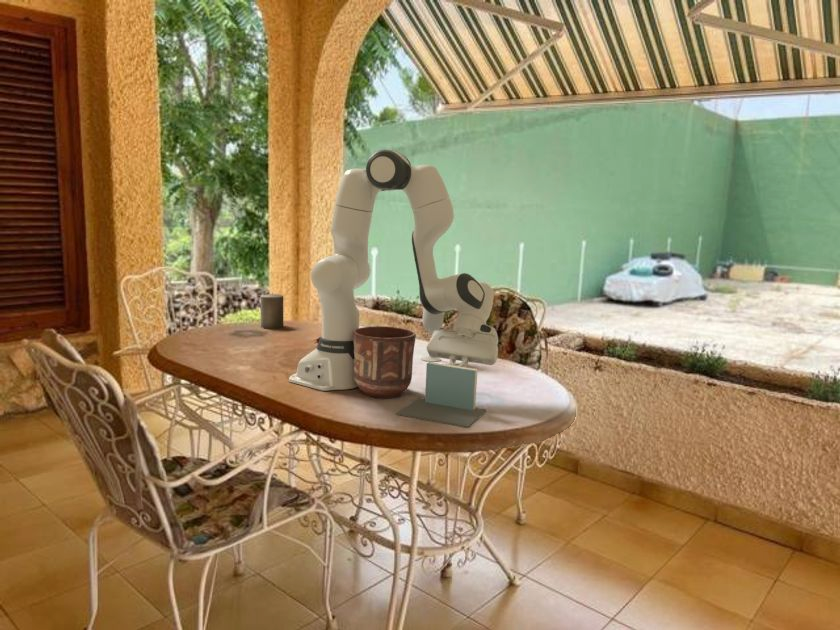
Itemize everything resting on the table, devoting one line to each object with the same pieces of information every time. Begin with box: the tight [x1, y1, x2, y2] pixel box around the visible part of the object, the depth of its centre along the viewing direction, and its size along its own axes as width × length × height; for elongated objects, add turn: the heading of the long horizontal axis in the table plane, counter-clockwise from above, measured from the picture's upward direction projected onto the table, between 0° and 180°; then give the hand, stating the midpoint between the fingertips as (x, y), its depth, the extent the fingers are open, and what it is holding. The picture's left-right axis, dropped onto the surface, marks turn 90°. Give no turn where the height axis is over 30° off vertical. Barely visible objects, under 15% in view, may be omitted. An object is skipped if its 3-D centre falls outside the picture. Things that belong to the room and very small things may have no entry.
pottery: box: [353, 325, 417, 399], centre depth 180 cm, size 18×18×18 cm
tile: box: [424, 362, 479, 410], centre depth 170 cm, size 14×2×11 cm, turn 67°
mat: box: [395, 397, 487, 429], centre depth 166 cm, size 20×15×1 cm
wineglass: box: [420, 307, 444, 363], centre depth 222 cm, size 8×8×21 cm
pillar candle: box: [260, 292, 285, 330], centre depth 268 cm, size 10×10×15 cm
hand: (454, 371), depth 172 cm, fingers closed
